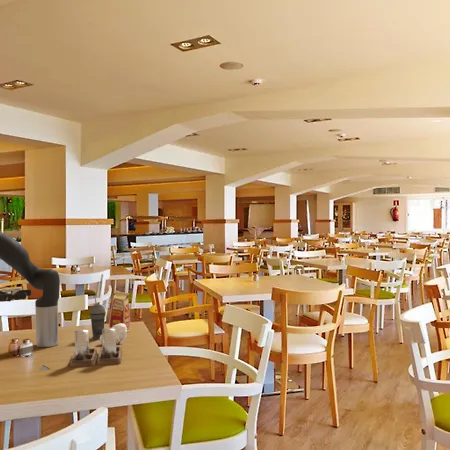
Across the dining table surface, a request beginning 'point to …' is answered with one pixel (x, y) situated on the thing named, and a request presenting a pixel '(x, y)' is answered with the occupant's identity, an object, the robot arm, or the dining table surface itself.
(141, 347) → the dining table surface
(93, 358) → the tray
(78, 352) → the steel billet
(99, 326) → the beverage cup
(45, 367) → the rubber mat
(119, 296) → the milk carton
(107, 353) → the cylinder
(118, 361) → the tray
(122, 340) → the white animal figurine
